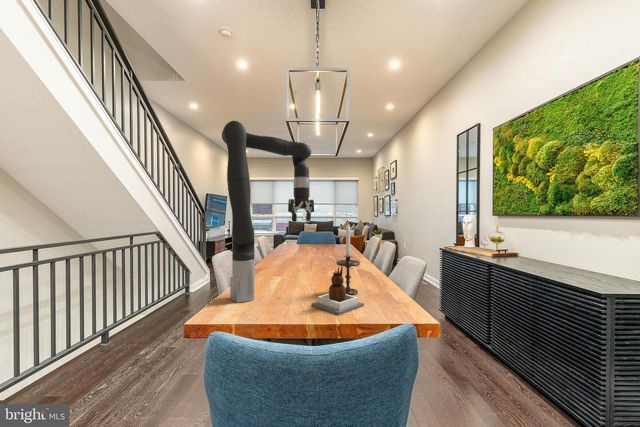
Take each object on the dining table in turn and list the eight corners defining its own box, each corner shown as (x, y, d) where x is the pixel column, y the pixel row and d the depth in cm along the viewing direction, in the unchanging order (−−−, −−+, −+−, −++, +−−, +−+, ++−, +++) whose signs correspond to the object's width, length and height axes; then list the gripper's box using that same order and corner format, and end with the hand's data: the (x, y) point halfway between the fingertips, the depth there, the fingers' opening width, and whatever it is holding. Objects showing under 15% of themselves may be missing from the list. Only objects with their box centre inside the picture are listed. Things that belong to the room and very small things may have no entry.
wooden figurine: (347, 301, 118) (347, 265, 118) (343, 306, 113) (343, 268, 113) (331, 300, 121) (331, 264, 120) (327, 304, 115) (327, 266, 115)
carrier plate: (339, 315, 106) (339, 305, 106) (311, 305, 117) (311, 296, 117) (364, 305, 117) (364, 297, 117) (336, 297, 127) (336, 289, 127)
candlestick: (333, 294, 132) (333, 217, 132) (340, 288, 142) (340, 217, 142) (356, 297, 128) (356, 218, 127) (362, 290, 138) (362, 217, 138)
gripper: (307, 188, 144) (307, 220, 145) (284, 186, 134) (284, 221, 135) (317, 187, 139) (317, 221, 139) (294, 185, 129) (294, 222, 129)
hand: (301, 221), depth 137 cm, fingers open, 8 cm apart
